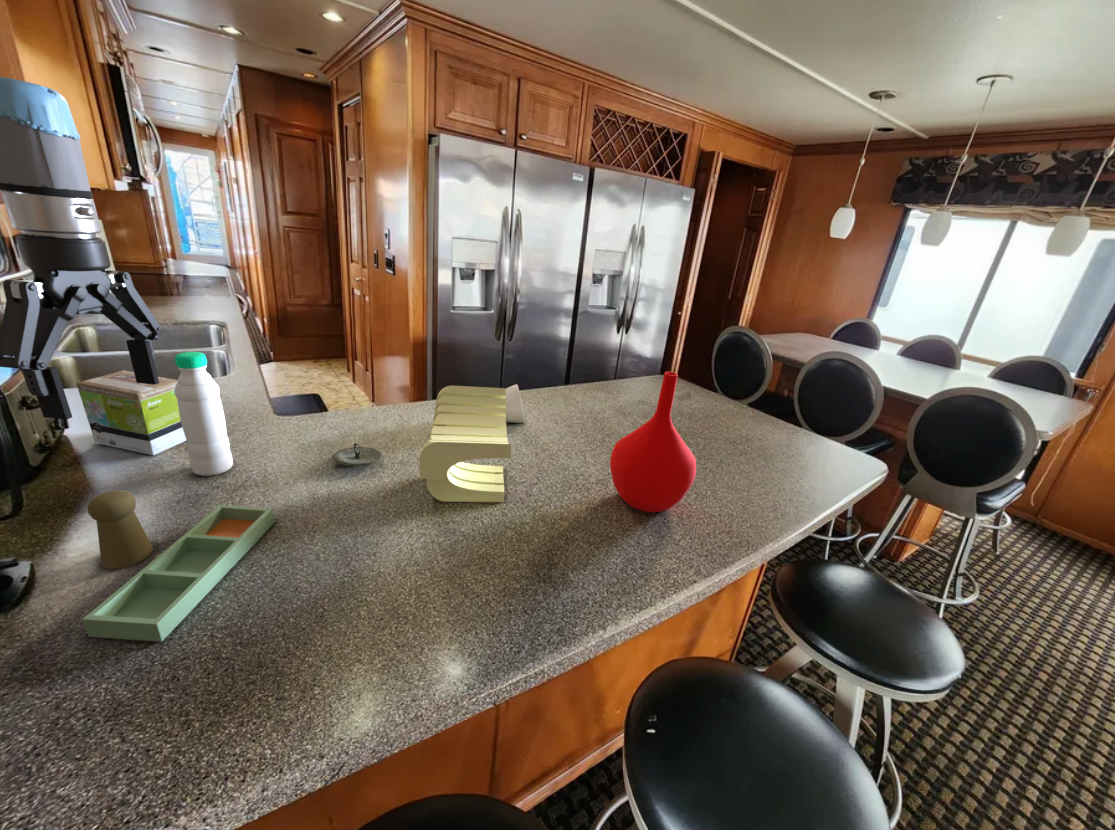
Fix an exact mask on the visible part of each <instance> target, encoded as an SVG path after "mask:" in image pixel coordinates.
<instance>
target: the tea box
mask: <svg viewBox="0 0 1115 830" xmlns="http://www.w3.org/2000/svg"><path fill="white" fill-rule="evenodd" d="M158 379H159V383H158V384H156V385H154V384H143V383H137V381H136V377H135V374H134V371H129V370H126V369H123V370H119V371H115V372H112V373H108V374H104V375H101V376H97V377H94V378H90V379H86V380H83V381H78V382H76V387H77V391H78V394H79V396H80V399H81V402H82V406H83V409H84V412H85V415H86V418H87V421H88V425H89V427H90V431H91V434H92V438H93V440H94V442H95V444H97V445H104V446H109V447H113V448H118V449H123V450H127V451H132V452H136V453H141V454H144V455H149V456H155V455H157V454H160V453H163V452H165V451H167V450H169V449H172V448H173V447H175V446H178V445H180V444H183V443H184V442H187V440H186V437H185V434H184V431H183V427H182V423H181V419H180V414H179V409H178V400H177V398H176V396H175V393H174V390H175V387H176V384H177V383H178V379H174V378H168V377H162V376H158Z"/></svg>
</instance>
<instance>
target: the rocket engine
mask: <svg viewBox="0 0 1115 830" xmlns="http://www.w3.org/2000/svg"><path fill="white" fill-rule="evenodd" d="M505 398H506V423H516V424H525V414H524V413H525V412H524V406H523V401H522V397H521V392H520V389H519V385H518V384H517V383H516V384H513V385H511V386H508V387H506V397H505Z"/></svg>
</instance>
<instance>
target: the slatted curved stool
mask: <svg viewBox="0 0 1115 830" xmlns="http://www.w3.org/2000/svg"><path fill="white" fill-rule="evenodd" d="M506 388H507V387H506ZM506 388H504V387H487V386H470V385H469V386H467V385H447V386H445V387H443V388H442V389H441V390H440V391H438V394H437V397H436V399H435V400H436V401H435V407H434V415H433V419H432V420H433V422H432V425H431V429H430V433H429V436H428V439H427V441H426V443H425V444H424V445H423V446H422V449H421V451H420V455H419V480H426V487H427V490H428V492H429V494H430V495H431V496H432V497H433V498H434V499H436V500H438V501H440V502H444V503H445V502H446V503H447V502H449V503H450V502H451V503H453V502H454V503H455V502H456V503H461V502H462V503H505V485H504V484H505V481H504V480H505V479H504V466H503V465H485V464H483V465H482V464H475V463H469V462H466V461H471V460H472V461H473V460H480V459H511V454H512V443H509V440H508V434H507V433H508V432H507V431H508V430H507V422H506V398H505V397H506Z"/></svg>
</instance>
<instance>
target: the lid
mask: <svg viewBox="0 0 1115 830" xmlns="http://www.w3.org/2000/svg"><path fill="white" fill-rule="evenodd" d="M382 458H383V453H382V452H381V451H380V450H378V449H376V448H372V447H369V446H368V447H367V446H360V444H358V443H354V444H353V447H347V448H343V449H340V450H338V451H335V452H334V453H333V454H332V455H331V459H332V461H334V462H335V463H337V464H339V465H344V466H351V467H352V466H365V465H369V464H370V465H371V464H373V463H376V462H378V461H380V460H381V459H382Z"/></svg>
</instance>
